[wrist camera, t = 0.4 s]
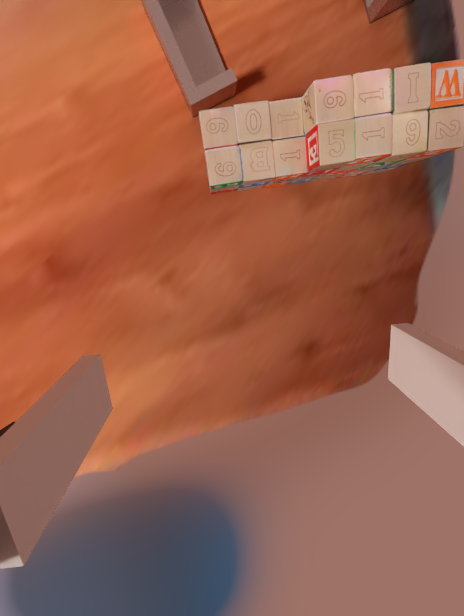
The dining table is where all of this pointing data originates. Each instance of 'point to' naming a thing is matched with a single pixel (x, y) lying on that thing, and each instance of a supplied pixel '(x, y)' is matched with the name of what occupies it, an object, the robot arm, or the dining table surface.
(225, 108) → the stack of blocks
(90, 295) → the dining table surface
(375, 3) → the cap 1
